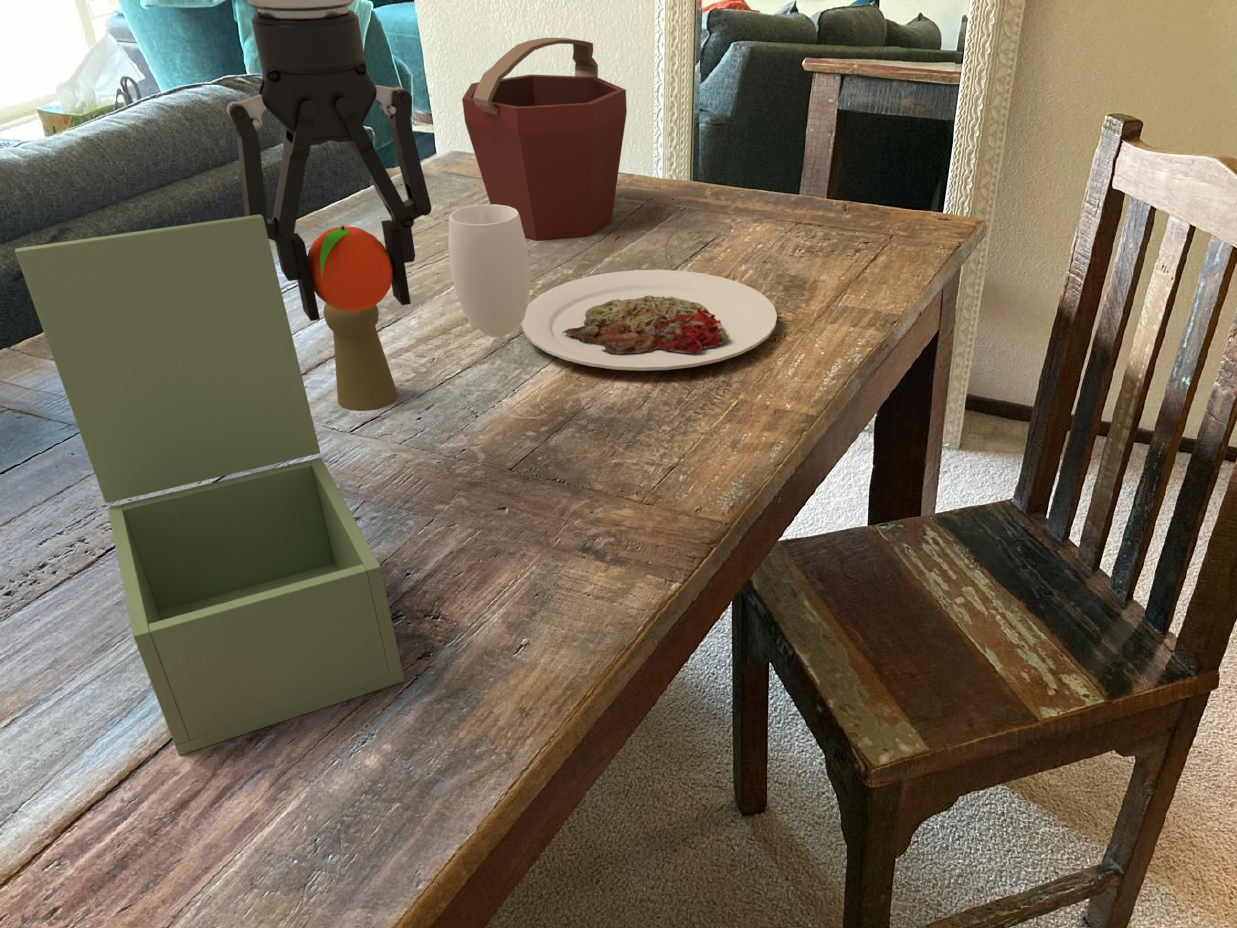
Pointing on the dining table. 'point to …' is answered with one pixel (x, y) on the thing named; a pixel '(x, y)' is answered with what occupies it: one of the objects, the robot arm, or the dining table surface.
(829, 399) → the dining table surface
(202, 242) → the lid
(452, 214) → the cup
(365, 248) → the clementine
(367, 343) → the cork
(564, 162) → the bucket
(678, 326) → the plated food
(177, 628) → the chest
